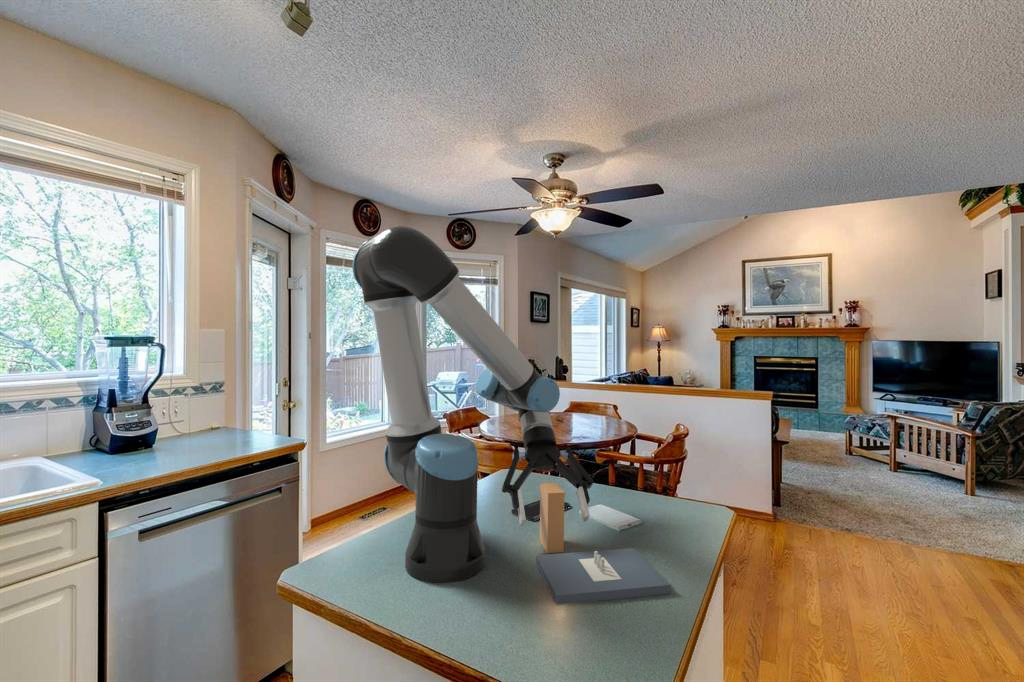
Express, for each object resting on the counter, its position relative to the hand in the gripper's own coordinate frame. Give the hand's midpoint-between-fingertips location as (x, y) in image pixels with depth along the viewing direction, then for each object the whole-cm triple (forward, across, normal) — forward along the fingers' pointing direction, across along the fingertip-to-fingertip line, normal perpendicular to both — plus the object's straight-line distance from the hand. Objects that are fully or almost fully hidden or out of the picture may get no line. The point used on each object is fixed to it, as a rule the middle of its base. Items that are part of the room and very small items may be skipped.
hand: (555, 521), depth 93 cm
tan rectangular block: (+3, 0, -5) cm, 6 cm away
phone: (-11, -3, -20) cm, 23 cm away
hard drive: (-5, -18, -14) cm, 23 cm away
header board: (+13, -5, +5) cm, 15 cm away
